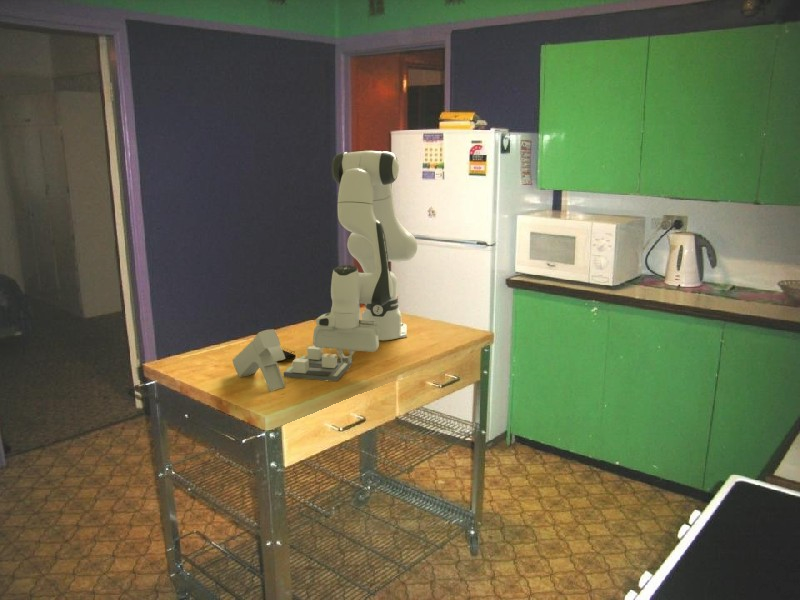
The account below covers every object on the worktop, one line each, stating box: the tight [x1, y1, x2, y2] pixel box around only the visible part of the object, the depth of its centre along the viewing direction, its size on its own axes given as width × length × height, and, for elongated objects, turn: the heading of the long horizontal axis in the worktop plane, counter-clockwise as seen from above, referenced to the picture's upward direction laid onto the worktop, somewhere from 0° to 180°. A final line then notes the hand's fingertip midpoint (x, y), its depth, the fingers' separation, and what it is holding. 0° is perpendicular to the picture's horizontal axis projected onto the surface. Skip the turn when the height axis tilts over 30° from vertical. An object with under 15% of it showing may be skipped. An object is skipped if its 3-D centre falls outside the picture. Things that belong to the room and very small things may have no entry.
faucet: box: [232, 328, 286, 392], centre depth 196 cm, size 6×16×20 cm
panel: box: [283, 355, 353, 382], centre depth 208 cm, size 17×17×2 cm
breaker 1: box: [292, 357, 309, 373], centre depth 202 cm, size 3×4×4 cm
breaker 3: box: [322, 352, 338, 368], centre depth 206 cm, size 3×4×4 cm
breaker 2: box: [306, 345, 323, 360], centre depth 214 cm, size 3×4×4 cm
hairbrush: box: [281, 346, 297, 360], centre depth 224 cm, size 8×4×25 cm
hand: (346, 362), depth 205 cm, fingers closed
